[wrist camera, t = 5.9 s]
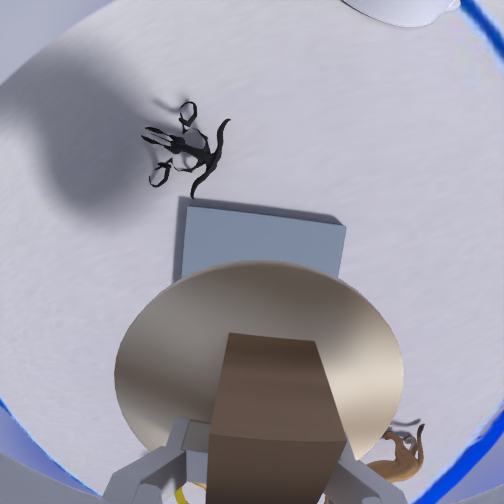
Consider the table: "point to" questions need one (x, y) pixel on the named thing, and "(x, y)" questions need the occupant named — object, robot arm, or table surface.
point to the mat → (258, 240)
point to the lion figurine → (399, 460)
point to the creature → (190, 150)
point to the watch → (180, 497)
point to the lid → (262, 376)
